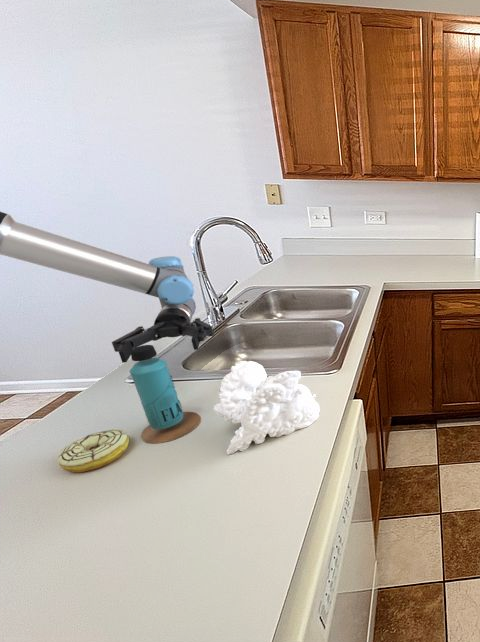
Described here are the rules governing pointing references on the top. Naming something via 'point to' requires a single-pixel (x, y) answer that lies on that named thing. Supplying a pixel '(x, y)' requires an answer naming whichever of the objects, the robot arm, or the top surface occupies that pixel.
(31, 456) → the top surface
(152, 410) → the beverage bottle
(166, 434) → the cork coaster
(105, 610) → the top surface
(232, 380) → the white ornate sculpture
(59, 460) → the decorated donut
